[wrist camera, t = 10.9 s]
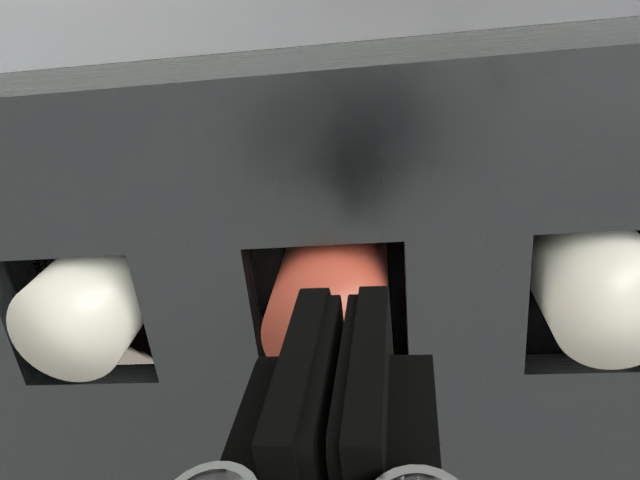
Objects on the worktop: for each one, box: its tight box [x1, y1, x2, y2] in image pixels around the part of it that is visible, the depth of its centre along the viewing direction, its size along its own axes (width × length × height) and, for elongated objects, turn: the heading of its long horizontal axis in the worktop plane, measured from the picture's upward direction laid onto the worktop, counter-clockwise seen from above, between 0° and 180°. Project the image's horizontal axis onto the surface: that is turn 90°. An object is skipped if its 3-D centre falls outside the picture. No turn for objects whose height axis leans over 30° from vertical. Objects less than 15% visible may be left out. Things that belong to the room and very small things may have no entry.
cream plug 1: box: [6, 255, 144, 382], centre depth 20 cm, size 4×4×6 cm
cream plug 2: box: [530, 230, 640, 370], centre depth 18 cm, size 4×4×6 cm
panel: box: [0, 16, 640, 480], centre depth 20 cm, size 28×14×6 cm, turn 95°
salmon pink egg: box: [261, 242, 389, 357], centre depth 18 cm, size 4×4×6 cm
